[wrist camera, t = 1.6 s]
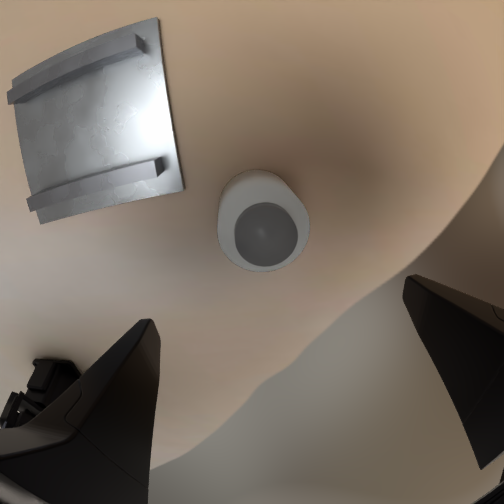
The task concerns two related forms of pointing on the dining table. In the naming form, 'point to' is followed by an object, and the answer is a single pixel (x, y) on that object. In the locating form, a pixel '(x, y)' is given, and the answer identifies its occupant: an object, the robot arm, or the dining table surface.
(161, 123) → the cradle
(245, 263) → the grey capped cylinder
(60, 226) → the dining table surface
